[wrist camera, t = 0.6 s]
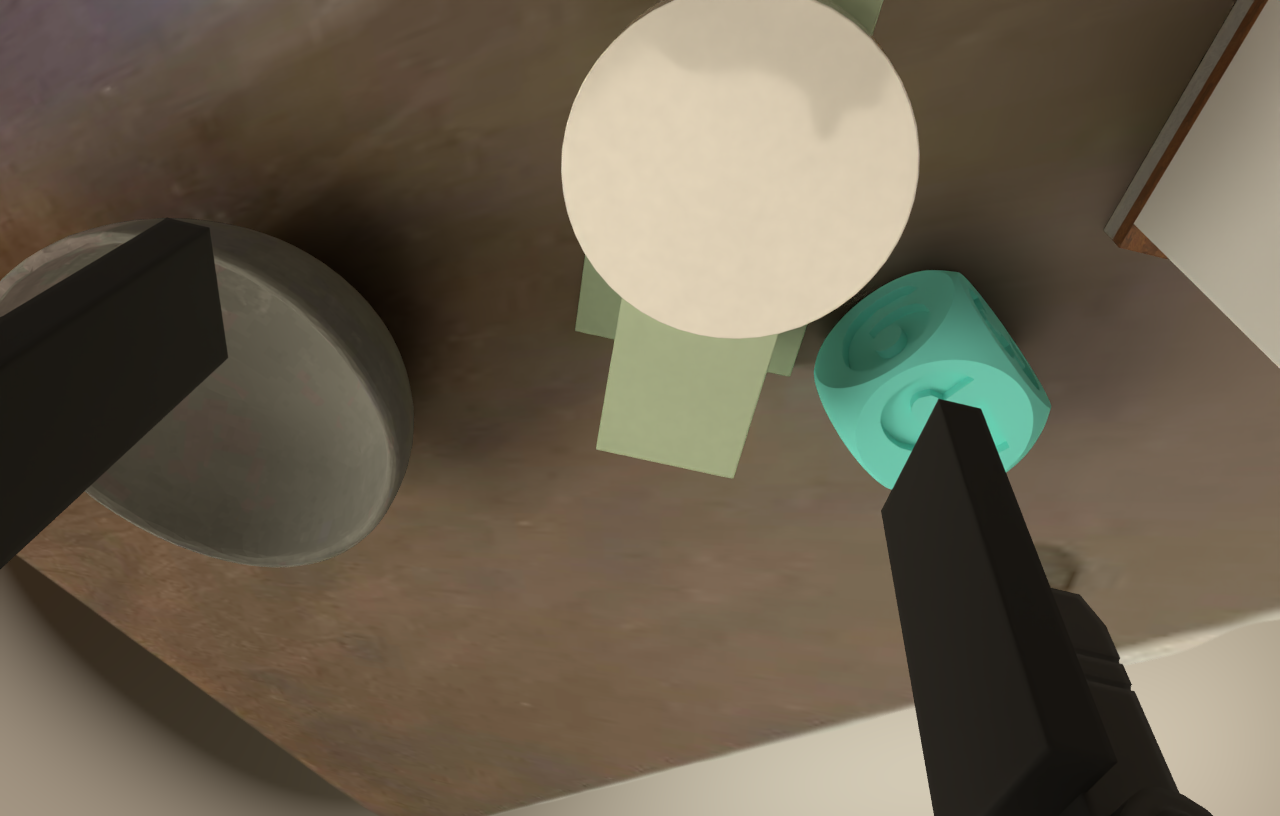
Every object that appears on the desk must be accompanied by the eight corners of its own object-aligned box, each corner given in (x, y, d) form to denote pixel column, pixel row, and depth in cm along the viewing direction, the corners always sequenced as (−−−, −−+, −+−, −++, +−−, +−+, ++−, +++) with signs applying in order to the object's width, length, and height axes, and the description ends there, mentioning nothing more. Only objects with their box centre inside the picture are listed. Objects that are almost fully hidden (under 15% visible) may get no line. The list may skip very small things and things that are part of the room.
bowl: (305, 505, 55) (225, 617, 47) (56, 275, 47) (-94, 362, 39) (523, 391, 47) (472, 502, 39) (270, 87, 39) (138, 148, 30)
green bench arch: (673, -367, 28) (622, -490, 18) (1009, -299, 27) (1144, -385, 18) (578, 320, 44) (525, 452, 34) (789, 365, 44) (795, 511, 34)
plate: (595, -58, 23) (583, -52, 21) (968, 20, 23) (982, 31, 21) (556, 280, 29) (544, 302, 28) (847, 342, 29) (851, 368, 28)
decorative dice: (892, 428, 45) (914, 523, 39) (808, 333, 42) (815, 419, 36) (1025, 352, 41) (1073, 444, 35) (941, 243, 39) (976, 320, 32)
